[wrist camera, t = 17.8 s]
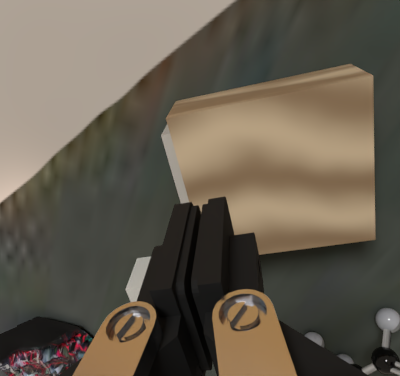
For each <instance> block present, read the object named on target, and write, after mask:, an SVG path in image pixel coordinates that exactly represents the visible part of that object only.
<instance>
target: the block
mask: <svg viewBox="0 0 400 376" xmlns="http://www.w3.org/2000/svg"><path fill="white" fill-rule="evenodd" d="M150 258H151V257H144V258H137V260H136V263H135V266H134V268H133V271H132V274H131V276H130V279H129V282H128V284H127V287H126V292H127V294H128V296H129V299H130V301H131V302H136V301H137V298H138V295H139V292H140V289H141V286H142V283H143V280H144V277H145V274H146V271H147V267H148V264H149V261H150Z"/></svg>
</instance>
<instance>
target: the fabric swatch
mask: <svg viewBox="0 0 400 376" xmlns="http://www.w3.org/2000/svg"><path fill="white" fill-rule="evenodd" d="M76 333H80V334H76ZM92 340H93V339H92V337H90V336H89V335H88V334H87V333H86V332H85V331H84V330H81V329H80V328H79V327H78V326H75V325H71V324H67V323H63V322H59V321H55V320H51V319H47V318H42V317H36V318H33V320H29V321H27V322H24V323H22V324H20V325H17V327H16V328H13V329H11V330H9V331H6V332H4V333H2V334H0V369H1V370H2V371H3V372H5V373H7V375H8V376H58V375H60V374H61V373H62V372H64V371H65V370H66V369H68V368H69V367H70V366H72V365H73V364H74V363H76V362H77V361H79V360H80V359H81V358H83V356H84V354H85V353H86V351H87V349H88V347H89V346H90V344H91V342H92Z"/></svg>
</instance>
